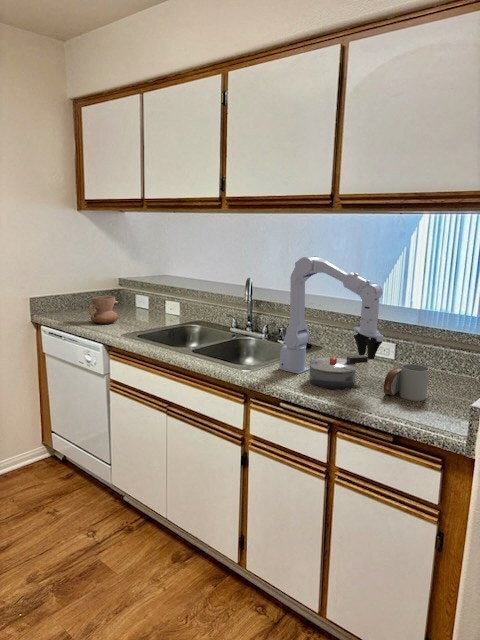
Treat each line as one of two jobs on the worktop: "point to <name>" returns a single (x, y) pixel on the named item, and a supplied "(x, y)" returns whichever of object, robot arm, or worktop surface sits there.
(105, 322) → the ceramic jug
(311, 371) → the cooker pot
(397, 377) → the tin
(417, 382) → the cup
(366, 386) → the worktop surface
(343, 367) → the lid
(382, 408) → the worktop surface
